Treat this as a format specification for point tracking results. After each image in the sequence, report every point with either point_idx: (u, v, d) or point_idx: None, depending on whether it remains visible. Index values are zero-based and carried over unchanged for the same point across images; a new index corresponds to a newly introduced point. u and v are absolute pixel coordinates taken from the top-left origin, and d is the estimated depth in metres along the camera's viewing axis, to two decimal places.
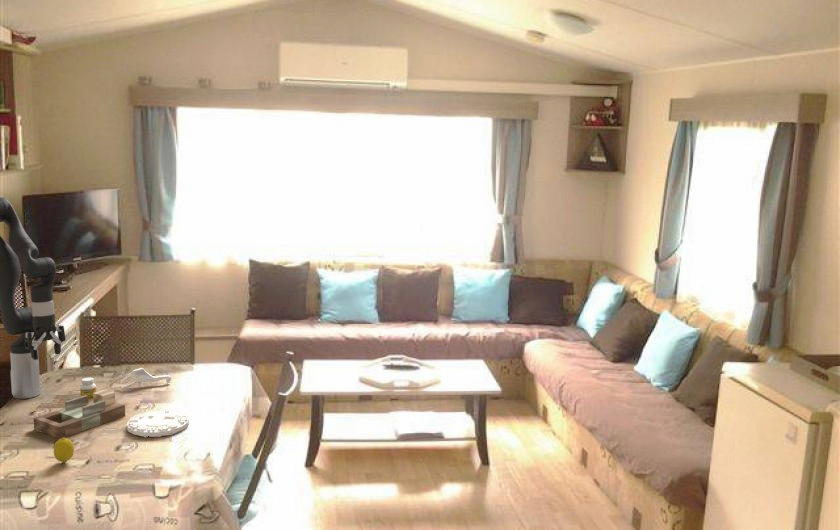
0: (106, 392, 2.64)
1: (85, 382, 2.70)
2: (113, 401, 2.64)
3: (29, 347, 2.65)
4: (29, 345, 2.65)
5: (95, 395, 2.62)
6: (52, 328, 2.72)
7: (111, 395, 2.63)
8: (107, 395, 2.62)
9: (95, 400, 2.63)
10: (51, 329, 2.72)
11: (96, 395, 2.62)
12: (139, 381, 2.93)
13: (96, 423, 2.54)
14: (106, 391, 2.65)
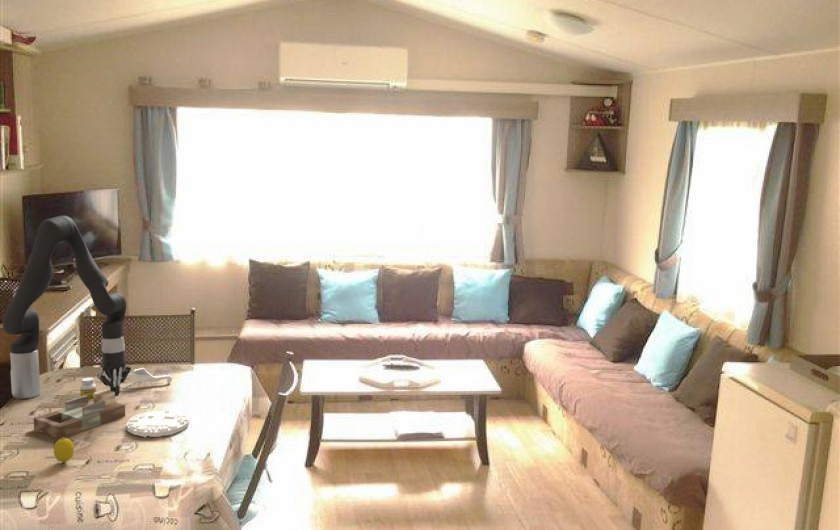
0: (106, 392, 2.64)
1: (85, 382, 2.70)
2: (113, 401, 2.64)
3: (109, 385, 2.64)
4: (108, 384, 2.63)
5: (95, 395, 2.62)
6: (122, 363, 2.68)
7: (111, 395, 2.63)
8: (107, 395, 2.62)
9: (95, 400, 2.62)
10: (120, 365, 2.67)
11: (96, 395, 2.62)
12: (140, 381, 2.93)
13: (96, 423, 2.54)
14: (106, 391, 2.65)
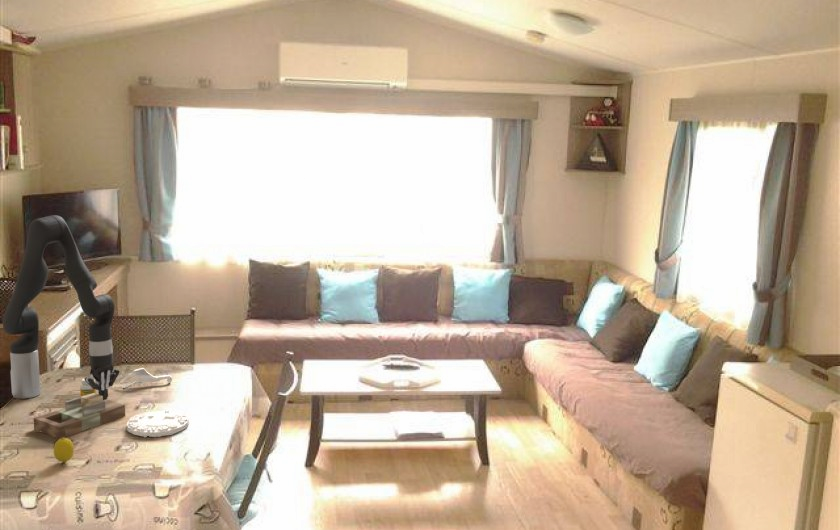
0: (94, 396, 2.60)
1: (85, 382, 2.70)
2: None
3: (97, 388, 2.60)
4: (96, 387, 2.59)
5: (83, 399, 2.58)
6: (111, 366, 2.63)
7: (99, 399, 2.59)
8: (95, 399, 2.58)
9: (83, 404, 2.58)
10: (108, 368, 2.63)
11: (84, 399, 2.58)
12: (140, 381, 2.93)
13: (96, 423, 2.54)
14: (94, 395, 2.61)
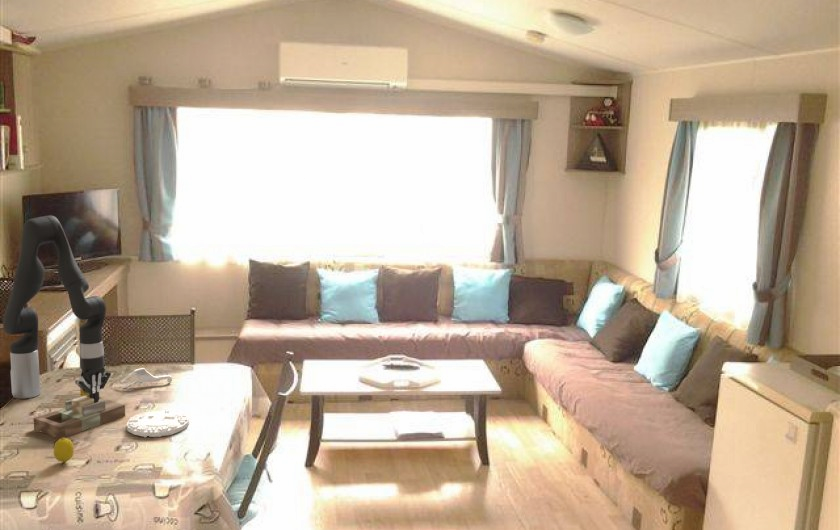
0: (85, 398, 2.57)
1: (85, 382, 2.70)
2: None
3: (88, 391, 2.57)
4: (87, 390, 2.56)
5: (73, 402, 2.55)
6: (102, 368, 2.60)
7: (90, 402, 2.56)
8: (86, 402, 2.55)
9: (73, 407, 2.55)
10: (100, 371, 2.60)
11: (74, 402, 2.55)
12: (140, 381, 2.93)
13: (96, 423, 2.54)
14: (85, 398, 2.57)
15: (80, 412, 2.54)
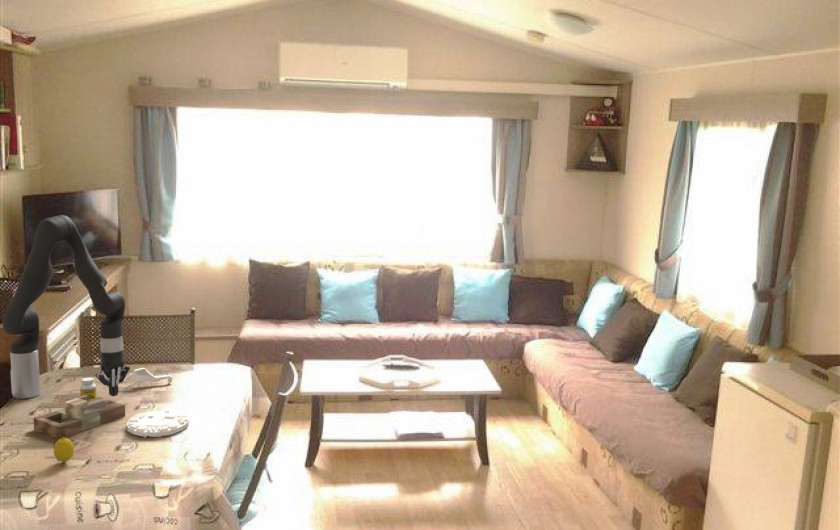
0: (79, 401, 2.55)
1: (85, 382, 2.70)
2: None
3: (108, 385, 2.63)
4: (107, 383, 2.63)
5: (67, 404, 2.53)
6: (121, 362, 2.67)
7: (83, 404, 2.54)
8: (79, 404, 2.52)
9: (67, 409, 2.53)
10: (119, 365, 2.67)
11: (68, 404, 2.52)
12: (140, 381, 2.94)
13: (96, 423, 2.54)
14: (78, 400, 2.55)
15: (73, 414, 2.51)
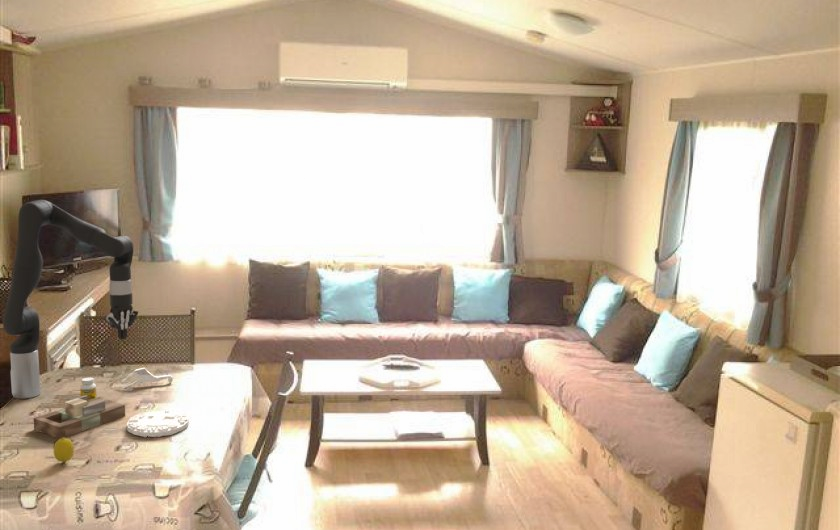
0: (79, 401, 2.55)
1: (85, 382, 2.70)
2: None
3: (117, 327, 2.66)
4: (116, 326, 2.66)
5: (67, 404, 2.53)
6: (130, 306, 2.70)
7: (83, 404, 2.54)
8: (79, 404, 2.52)
9: (67, 409, 2.53)
10: (128, 308, 2.69)
11: (68, 404, 2.52)
12: (141, 381, 2.94)
13: (96, 423, 2.54)
14: (78, 400, 2.55)
15: (73, 414, 2.51)
